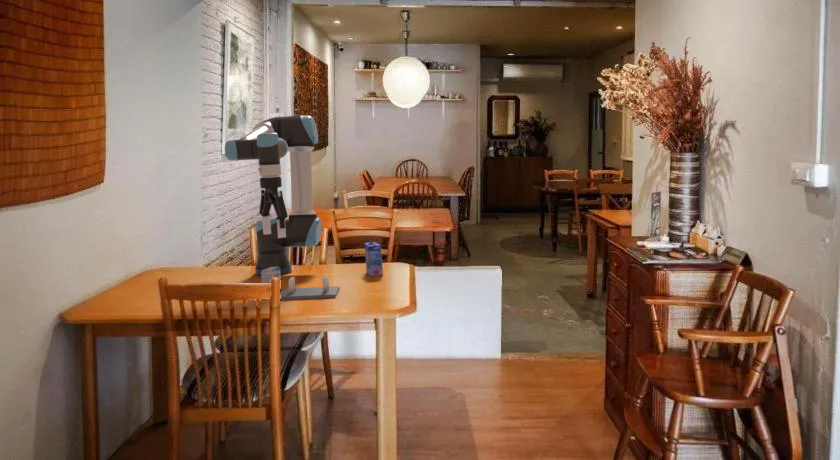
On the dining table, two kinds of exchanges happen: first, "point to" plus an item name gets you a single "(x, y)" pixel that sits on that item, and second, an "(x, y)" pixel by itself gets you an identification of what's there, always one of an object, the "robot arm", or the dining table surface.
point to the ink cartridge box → (373, 258)
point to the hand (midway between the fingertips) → (274, 235)
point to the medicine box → (270, 274)
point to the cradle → (309, 291)
